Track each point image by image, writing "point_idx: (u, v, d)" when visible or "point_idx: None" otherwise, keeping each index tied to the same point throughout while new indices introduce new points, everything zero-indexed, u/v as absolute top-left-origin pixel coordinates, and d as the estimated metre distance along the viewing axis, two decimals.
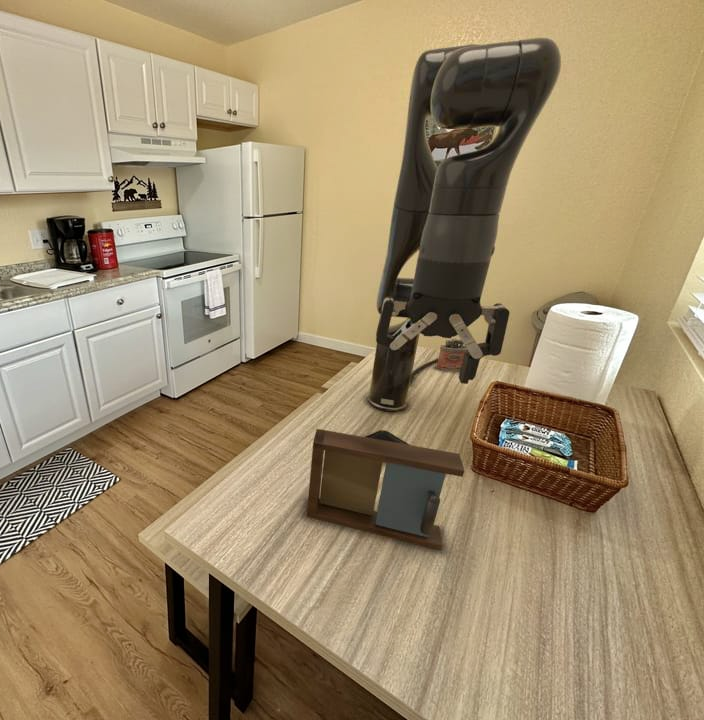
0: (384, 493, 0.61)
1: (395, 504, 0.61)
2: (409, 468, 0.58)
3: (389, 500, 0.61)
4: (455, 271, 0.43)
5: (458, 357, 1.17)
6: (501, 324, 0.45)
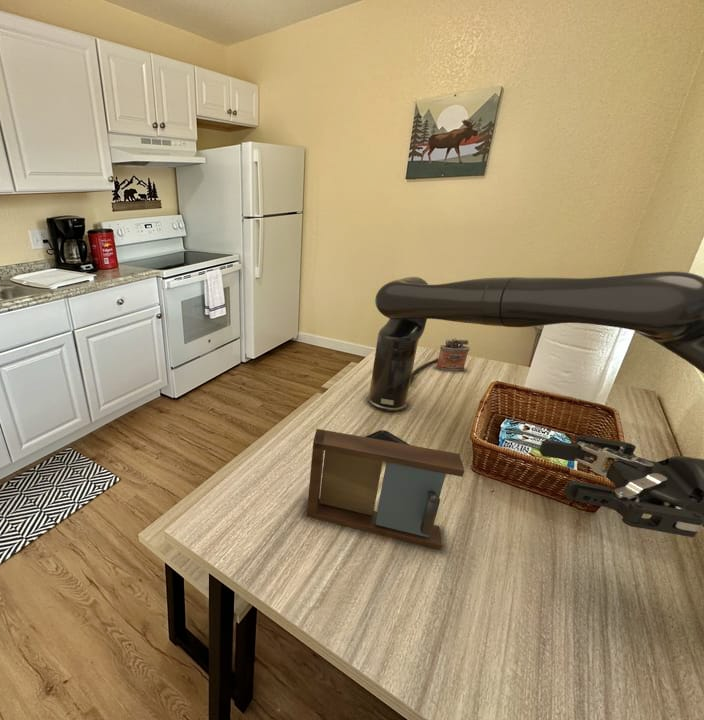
0: (384, 493, 0.61)
1: (395, 504, 0.61)
2: (409, 468, 0.58)
3: (389, 500, 0.61)
4: None
5: (458, 357, 1.17)
6: None
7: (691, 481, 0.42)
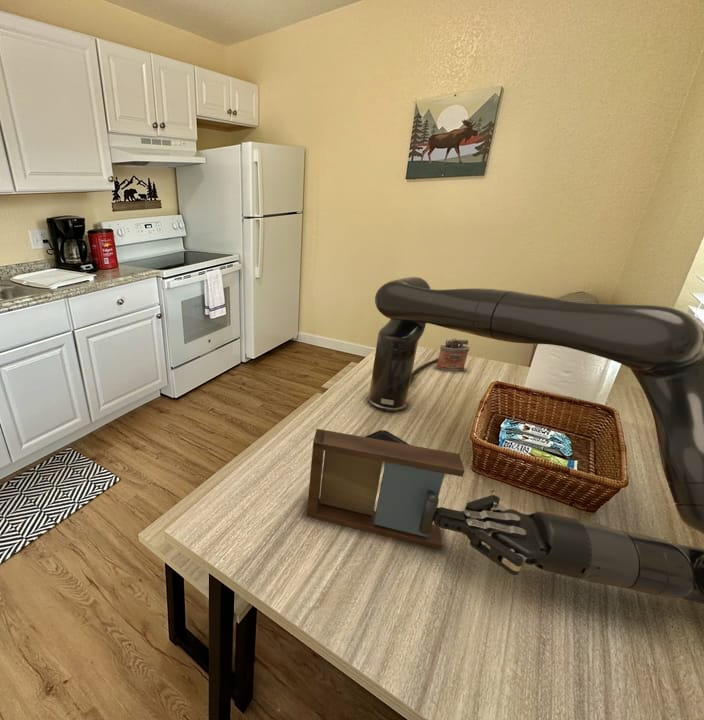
0: (383, 493, 0.61)
1: (394, 503, 0.61)
2: (408, 468, 0.58)
3: (388, 500, 0.61)
4: None
5: (458, 357, 1.17)
6: None
7: (544, 536, 0.51)
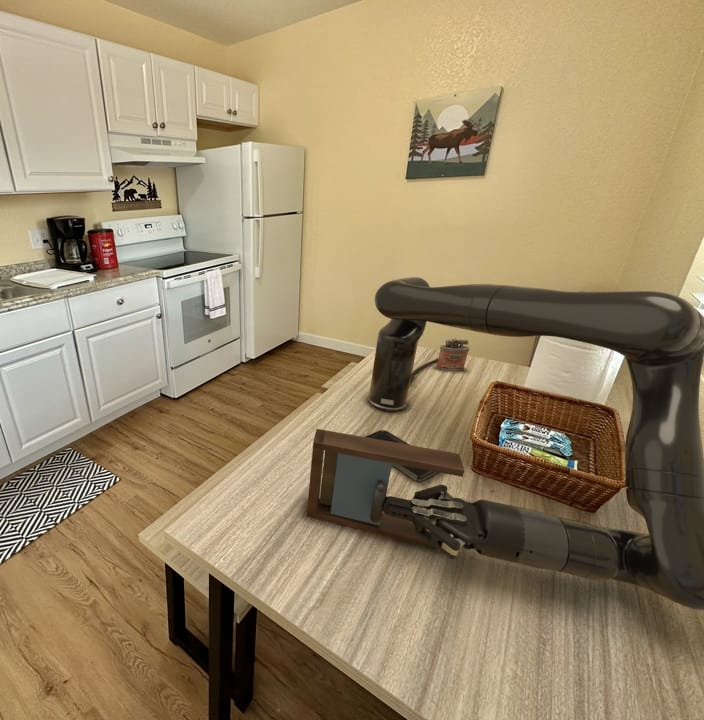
0: (337, 483, 0.63)
1: (347, 493, 0.63)
2: (358, 458, 0.60)
3: (342, 490, 0.63)
4: None
5: (458, 357, 1.17)
6: None
7: (483, 522, 0.53)
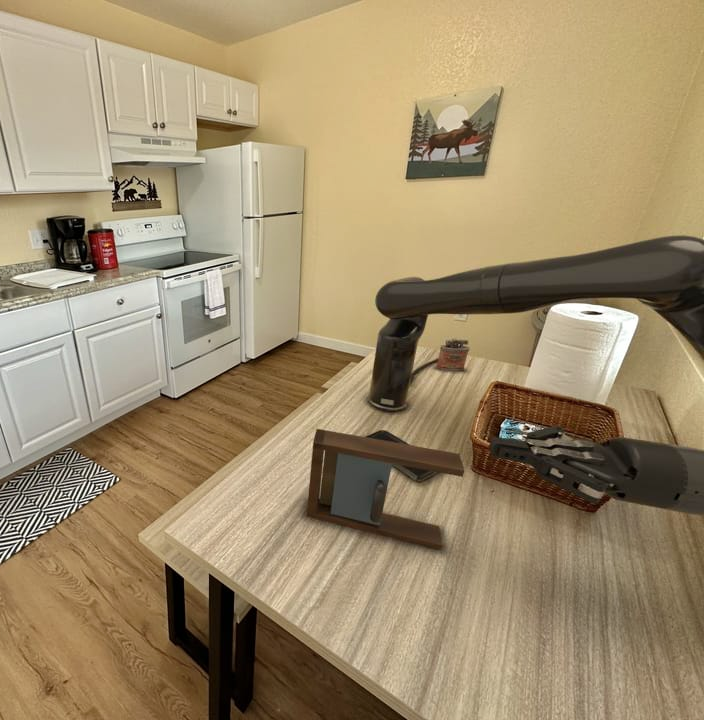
0: (337, 483, 0.63)
1: (347, 493, 0.63)
2: (358, 458, 0.60)
3: (342, 489, 0.63)
4: None
5: (458, 357, 1.17)
6: None
7: (627, 460, 0.44)
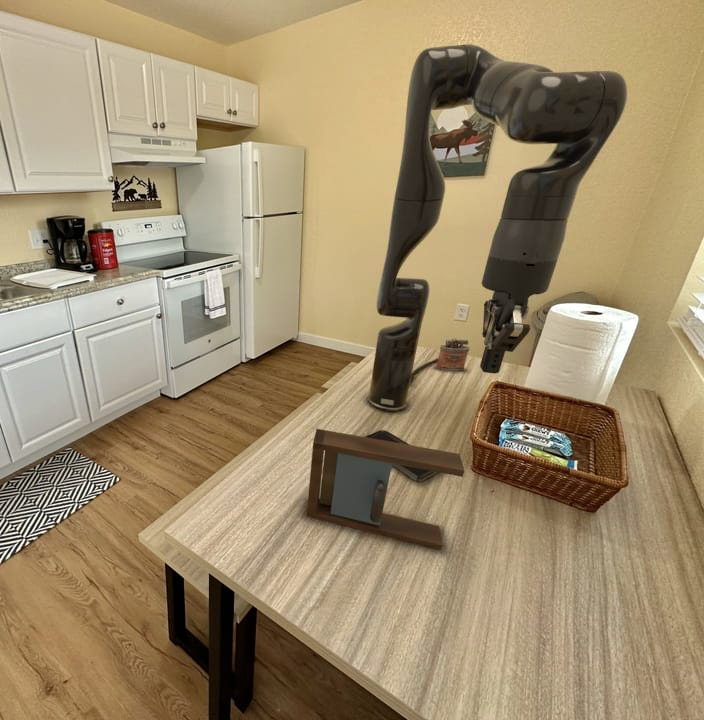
0: (337, 483, 0.63)
1: (347, 493, 0.63)
2: (358, 458, 0.60)
3: (342, 489, 0.63)
4: None
5: (458, 357, 1.17)
6: None
7: None
